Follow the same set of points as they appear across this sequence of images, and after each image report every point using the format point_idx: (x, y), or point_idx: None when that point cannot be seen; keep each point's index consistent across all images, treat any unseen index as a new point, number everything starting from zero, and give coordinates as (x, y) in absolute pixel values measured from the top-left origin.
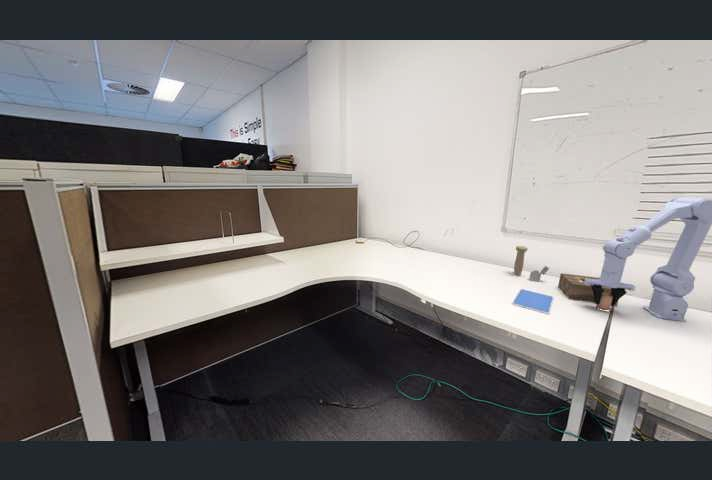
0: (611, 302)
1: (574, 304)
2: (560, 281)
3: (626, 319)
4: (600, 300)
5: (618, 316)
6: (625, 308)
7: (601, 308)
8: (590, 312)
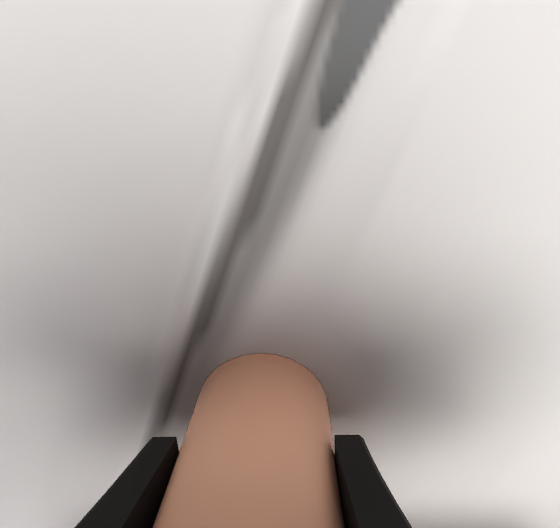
0: (169, 492)
1: (554, 416)
2: None
3: (75, 202)
4: (334, 503)
5: (147, 262)
6: (22, 513)
7: (298, 381)
8: (476, 235)
